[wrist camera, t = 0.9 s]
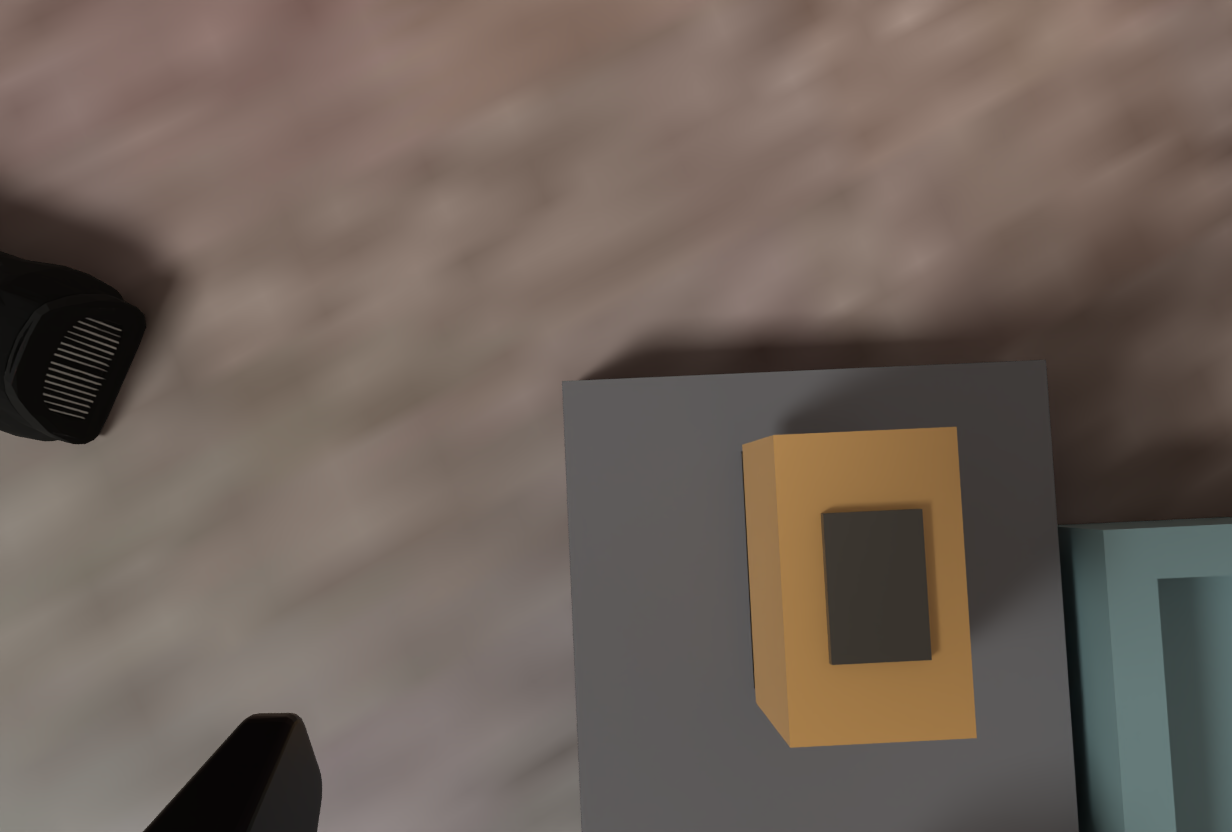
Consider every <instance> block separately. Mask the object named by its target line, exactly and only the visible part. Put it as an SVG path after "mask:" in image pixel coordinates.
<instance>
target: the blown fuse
mask: <svg viewBox="0 0 1232 832" xmlns="http://www.w3.org/2000/svg"><path fill="white" fill-rule="evenodd" d="M742 451H743V470H744V489H745V508H746V527H747V545H748V564H749V583H750V602H751V621H752V639H753V658H754V677H755V696H756V703H757V705H758V706H759V707H760V709H761V710H762V711H763V713H764V714H765V715H766V716H767V718H768V719H769V720H770V722H771V723H772V724H773V726H774V727H775V728H776V730H777V731H778V732H779V734H780V735H781V736H782V737H783V739H784V740H785V741H786V743H787V744H788V745H789V747H790V748H794V747H813V746H833V745H852V744H872V743H891V742H911V741H930V740H950V739H969V738H977V734H976V719H975V703H974V688H973V672H972V657H971V641H970V626H969V611H968V595H967V580H966V564H965V549H964V533H963V518H962V503H961V487H960V472H959V456H958V441H957V427H939V428H917V429H895V430H873V431H851V432H829V433H808V434H786V435H772V436H769V437H765V438H762V439H759V440H756V441H753V442H749V443H746V444H743V445H742Z"/></svg>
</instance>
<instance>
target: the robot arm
mask: <svg viewBox="0 0 1232 832" xmlns="http://www.w3.org/2000/svg"><path fill="white" fill-rule="evenodd" d="M321 800H322V779H321V773H320V770H319V767H318V764H317V761H316V758H315V755H314V752H313V749H312V746H311V743H310V740H309V737H308V734H307V731H306V728H305V725H304V723H303V721H302V719H301V718H300V717H299V716H298V715H297V714H293V713H259V714H253V715H251V716H249V717H248V718H246V719H245V720H244V721H243V722H242V723H241V724H240V725H239V726H238V727H237V728H236V729H235V730H234V731H233V733H232V734H231V735H230V736H229V737H228V738H227V739H226V740H225V741H224V743H223V744H222V745H221V746H220V747H219V748H218V749H217V750H216V751H215V753H214V754H213V755H212V756H211V757H210V758H209V759H208V760H207V761H206V762H205V764H204V765H203V766H202V767H201V768H200V769H199V770H198V771H197V772H196V774H195V775H194V776H193V777H192V778H191V779H190V780H189V781H188V782H187V784H186V785H185V786H184V787H183V788H182V789H181V790H180V791H179V792H178V794H177V795H176V796H175V797H174V798H173V799H172V800H171V801H170V802H169V804H168V805H167V806H166V807H165V808H164V809H163V810H162V811H161V812H160V814H159V815H158V816H157V817H156V818H155V819H154V820H153V821H152V822H151V824H150V825H149V826H148V827H147V828H146V829H145V830H144V831H143V832H317V828H318V821H319V814H320V807H321Z"/></svg>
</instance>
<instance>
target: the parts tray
mask: <svg viewBox="0 0 1232 832" xmlns="http://www.w3.org/2000/svg"><path fill="white" fill-rule="evenodd" d="M1057 526H1058V540H1059V554H1060V569H1061V583H1062V597H1063V611H1064V626H1065V640H1066V654H1067V669H1068V683H1069V697H1070V711H1071V726H1072V740H1073V754H1074V768H1075V783H1076V797H1077V811H1078V826H1079V832H1232V517H1216V518H1195V519H1174V520H1153V521H1132V522H1111V523H1090V524H1069V525H1057Z"/></svg>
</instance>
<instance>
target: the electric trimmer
mask: <svg viewBox="0 0 1232 832" xmlns="http://www.w3.org/2000/svg"><path fill="white" fill-rule="evenodd" d="M145 328H146V324H145V315H144V314H143V313H142V312H141V311H140V310H139V309H138V308H137V307H135V306H133V305H131V304H129V303H127V302H125V301H124V300H123V298H122V296H121V295H120V294H119V293H118V291H117V290H115V289H114V288H112V287H111V286H109V285H107V284H105V283H104V282H102V281H100V280H98V279H96V278H95V277H93V276H91V275H89V274H86V273H83V272H80V271H77V270H74V269H71V268H69V267H66V266H60V265H54V264H48V263H41V262H35V261H29V260H24V259H21V258H18V257H15V256H12V255H9V254H6V253H3V252H1V251H0V430H1V431H4V432H7V433H9V434H12V435H15V436H20V437H25V438H30V439H35V440H41V441H55V440H61V441H64V442H68V443H72V444H86V443H88V442H90V441H92V440H94V439H95V438H96V437H97V436H98V435H99V433H100V431H101V429H102V427H103V425H104V423H105V421H106V419H107V417H108V415H109V413H110V410H111V408H112V406H113V403H114V401H115V399H116V397H117V394H118V392H119V390H120V387H121V385H122V383H123V381H124V378H125V376H126V374H127V371H128V369H129V367H130V365H131V362H132V360H133V358H134V355H135V353H136V351H137V349H138V346H139V344H140V341H141V338H142V336H143V333H144V331H145Z"/></svg>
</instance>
